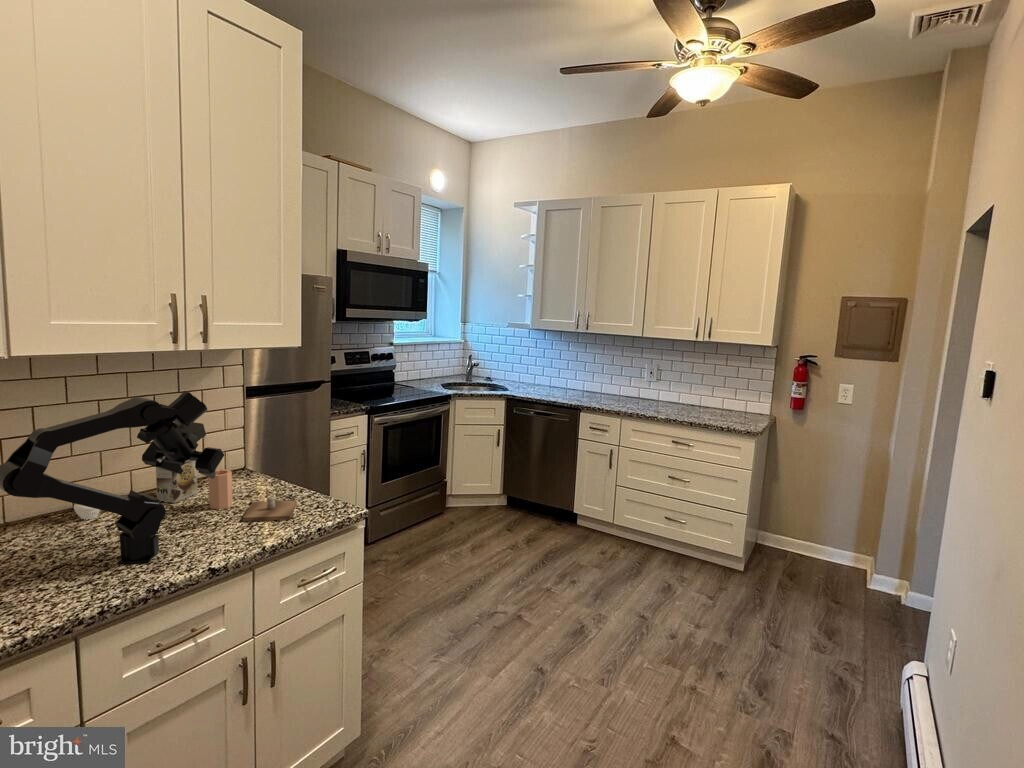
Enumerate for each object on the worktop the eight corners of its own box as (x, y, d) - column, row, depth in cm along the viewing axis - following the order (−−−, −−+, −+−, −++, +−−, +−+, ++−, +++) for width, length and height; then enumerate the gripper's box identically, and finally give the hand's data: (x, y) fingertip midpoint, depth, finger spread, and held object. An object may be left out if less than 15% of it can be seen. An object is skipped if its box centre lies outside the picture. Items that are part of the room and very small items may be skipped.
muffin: (95, 522, 147) (93, 496, 145) (69, 522, 146) (67, 497, 144) (108, 513, 153) (106, 488, 152) (83, 513, 152) (81, 489, 151)
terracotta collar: (213, 510, 158) (211, 476, 156) (208, 504, 162) (206, 471, 160) (234, 506, 162) (233, 473, 160) (228, 500, 166) (227, 468, 164)
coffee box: (175, 503, 161) (172, 450, 159) (156, 501, 163) (153, 448, 160) (198, 493, 170) (196, 442, 168) (180, 491, 171) (178, 440, 169)
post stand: (243, 521, 151) (242, 505, 150) (253, 505, 163) (253, 490, 162) (289, 519, 154) (289, 504, 153) (296, 504, 165) (296, 489, 165)
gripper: (222, 417, 136) (246, 454, 148) (153, 408, 139) (182, 445, 150) (198, 454, 129) (224, 489, 141) (125, 444, 131) (158, 480, 143)
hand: (197, 474), depth 144 cm, fingers open, 9 cm apart
